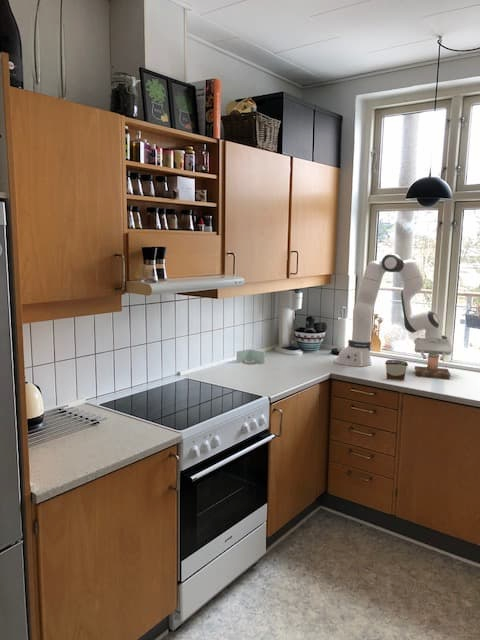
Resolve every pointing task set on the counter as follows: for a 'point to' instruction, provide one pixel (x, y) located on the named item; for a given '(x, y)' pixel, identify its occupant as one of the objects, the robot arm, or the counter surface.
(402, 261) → the robot arm
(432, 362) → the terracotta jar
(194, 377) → the counter surface
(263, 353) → the l-shaped corner panel
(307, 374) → the counter surface
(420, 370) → the walnut stand
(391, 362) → the food container
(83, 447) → the counter surface
